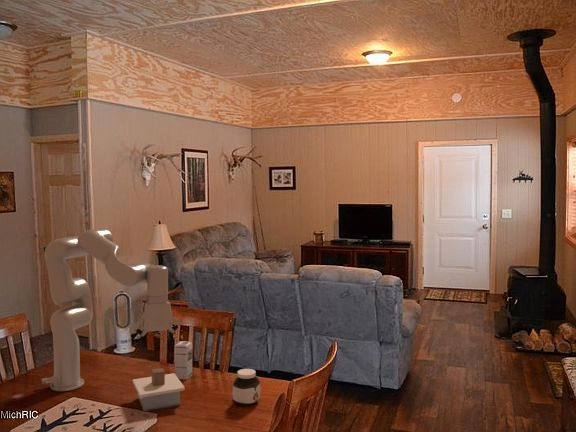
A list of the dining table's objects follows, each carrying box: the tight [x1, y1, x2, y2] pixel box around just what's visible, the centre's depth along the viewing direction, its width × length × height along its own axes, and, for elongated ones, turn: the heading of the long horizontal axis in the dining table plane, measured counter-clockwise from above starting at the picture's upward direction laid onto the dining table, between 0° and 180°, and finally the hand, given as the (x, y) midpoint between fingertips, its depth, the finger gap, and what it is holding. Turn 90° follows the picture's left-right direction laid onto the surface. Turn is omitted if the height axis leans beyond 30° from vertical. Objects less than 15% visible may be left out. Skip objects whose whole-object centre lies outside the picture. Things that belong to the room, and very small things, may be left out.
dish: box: [137, 391, 181, 412], centre depth 197 cm, size 13×13×6 cm
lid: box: [132, 367, 186, 398], centre depth 196 cm, size 16×16×6 cm
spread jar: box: [232, 368, 261, 407], centre depth 199 cm, size 12×11×12 cm
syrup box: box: [174, 340, 194, 380], centre depth 222 cm, size 6×6×14 cm
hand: (157, 344), depth 196 cm, fingers open, 9 cm apart
